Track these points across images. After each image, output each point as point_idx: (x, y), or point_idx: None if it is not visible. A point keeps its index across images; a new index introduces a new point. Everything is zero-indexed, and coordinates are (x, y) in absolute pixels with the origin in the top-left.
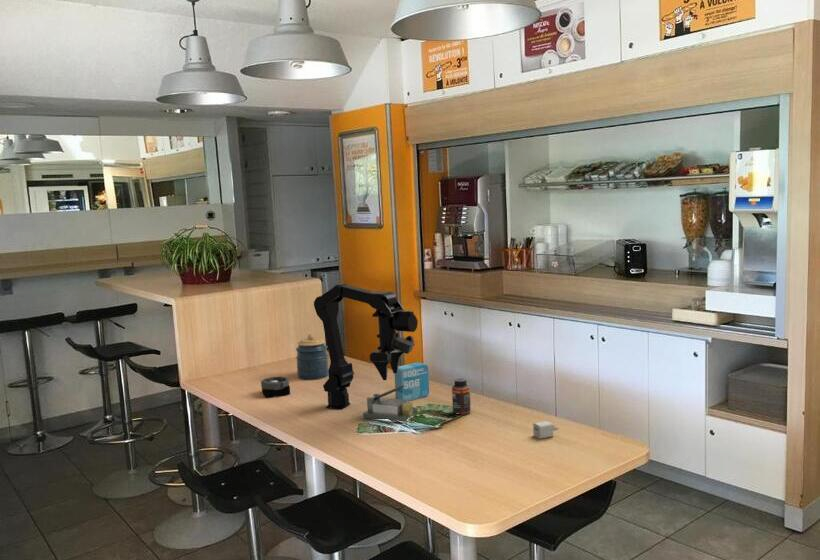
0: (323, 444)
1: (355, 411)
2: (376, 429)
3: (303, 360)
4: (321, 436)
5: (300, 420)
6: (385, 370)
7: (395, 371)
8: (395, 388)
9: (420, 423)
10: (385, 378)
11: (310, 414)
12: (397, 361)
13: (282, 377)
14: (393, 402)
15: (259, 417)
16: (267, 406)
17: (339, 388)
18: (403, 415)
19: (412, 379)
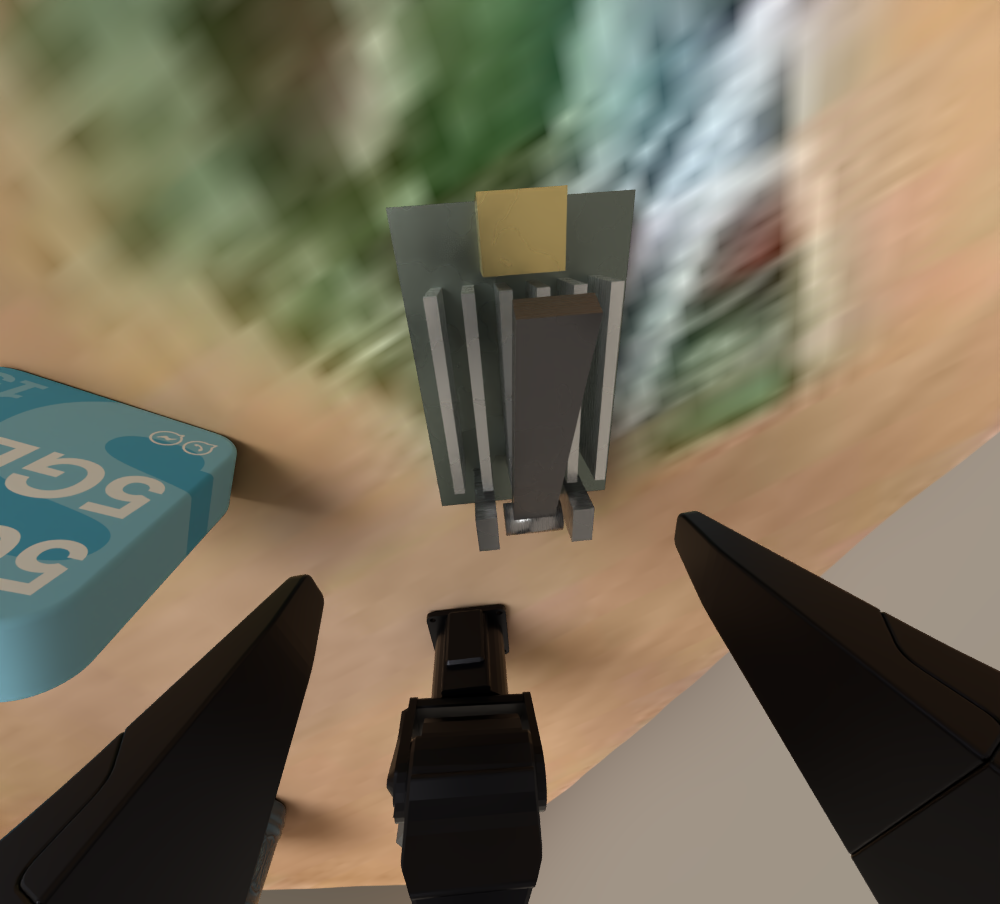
0: (950, 436)
1: (501, 553)
2: (747, 321)
3: (253, 899)
4: (840, 495)
5: (658, 635)
6: (906, 634)
7: (304, 601)
8: (573, 381)
9: (585, 45)
10: (719, 529)
11: (590, 645)
12: (151, 789)
13: (402, 841)
14: None
15: (650, 712)
16: (553, 743)
17: (488, 706)
18: (591, 225)
19: (1, 495)
